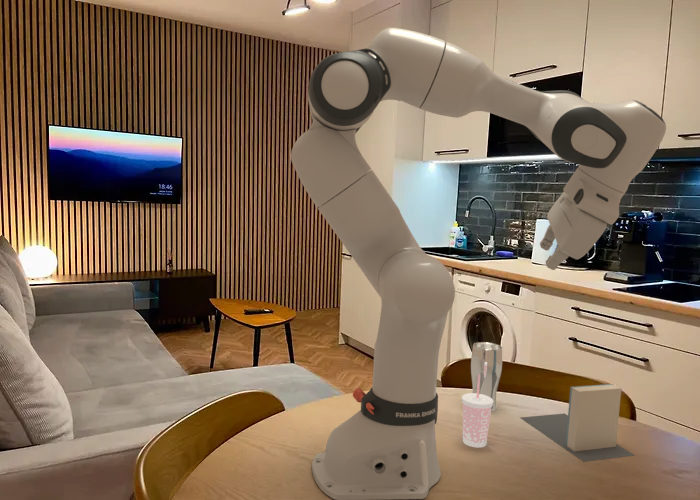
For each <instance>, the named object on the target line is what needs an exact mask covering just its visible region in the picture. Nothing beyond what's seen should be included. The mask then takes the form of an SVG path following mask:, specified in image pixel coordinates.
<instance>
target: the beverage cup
mask: <svg viewBox="0 0 700 500" xmlns="http://www.w3.org/2000/svg"><path fill="white" fill-rule="evenodd" d="M479 388H480V374H478V382H477V393H473V392H469V393H467V392H466V393H464V394H463V395H462V396H461V403H462V442H463V443H464V444H465V445H466V446H469V447H470V448H471V447H472V448H484V447H485V446H487V442H488V436H489V433H488V432H489V429H490V428H489V427H490V419H491V414H492V412H491V407H492V406H493V399H492V398H490V397H489V396H486V395H483V394H479Z"/></svg>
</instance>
